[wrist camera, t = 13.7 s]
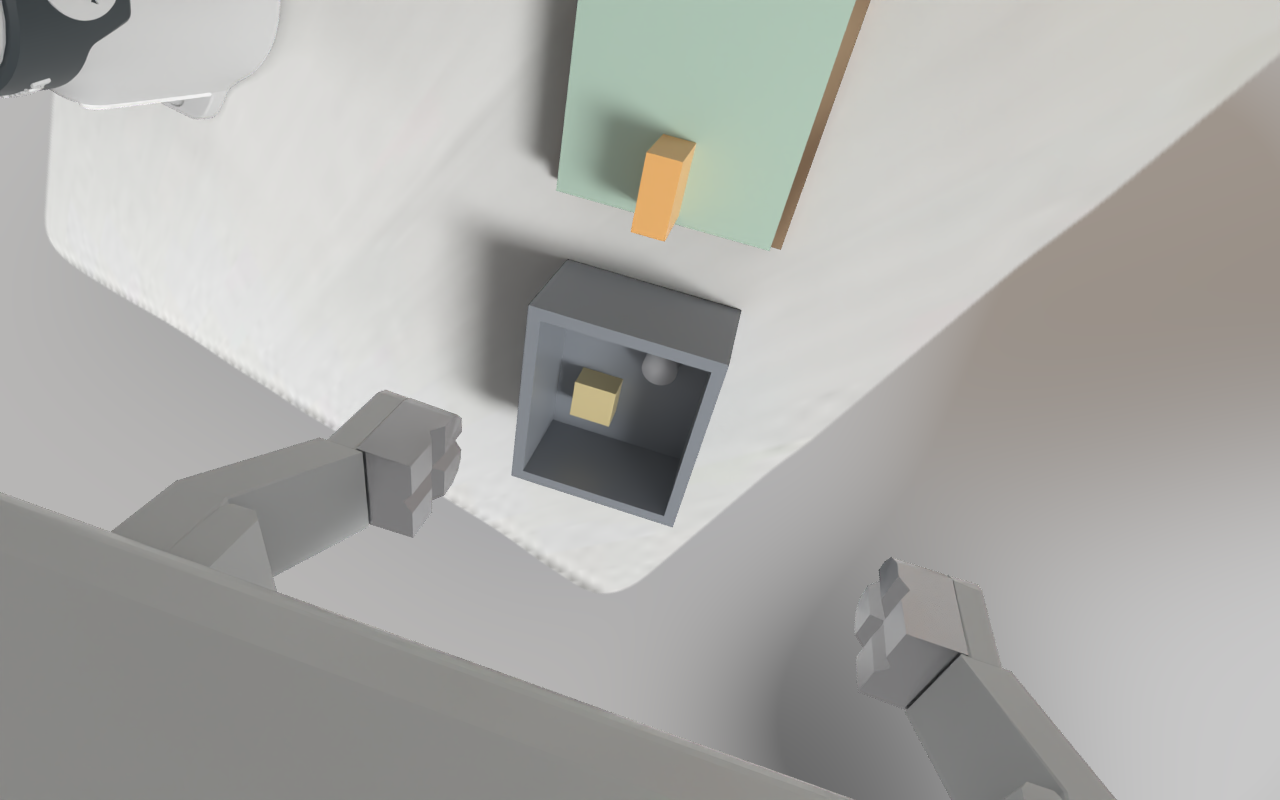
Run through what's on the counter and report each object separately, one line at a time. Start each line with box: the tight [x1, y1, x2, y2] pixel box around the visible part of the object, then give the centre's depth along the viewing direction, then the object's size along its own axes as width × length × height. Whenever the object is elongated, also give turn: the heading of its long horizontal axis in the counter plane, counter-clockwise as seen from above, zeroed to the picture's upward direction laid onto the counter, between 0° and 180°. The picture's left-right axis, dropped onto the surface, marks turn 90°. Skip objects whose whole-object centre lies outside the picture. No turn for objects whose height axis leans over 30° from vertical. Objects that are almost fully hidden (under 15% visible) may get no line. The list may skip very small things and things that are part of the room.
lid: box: [556, 0, 856, 251], centre depth 30 cm, size 13×15×6 cm
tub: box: [512, 259, 741, 527], centre depth 42 cm, size 12×14×7 cm
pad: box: [771, 0, 870, 250], centre depth 33 cm, size 14×16×1 cm
